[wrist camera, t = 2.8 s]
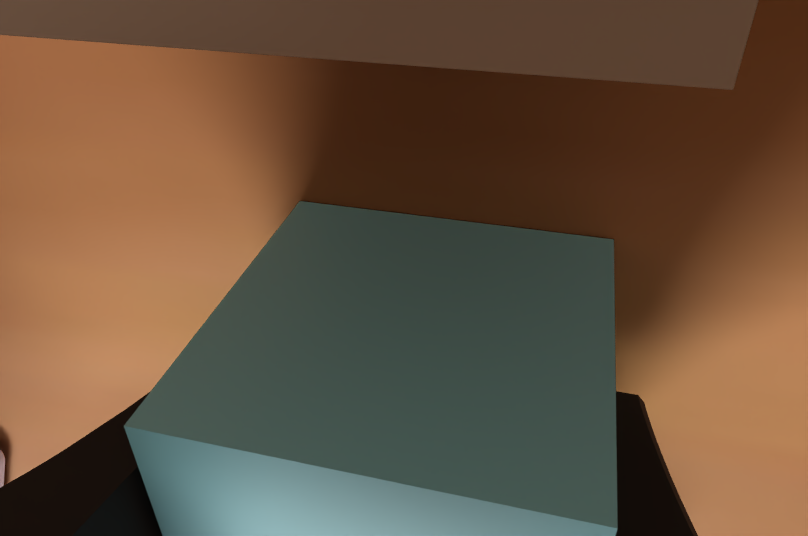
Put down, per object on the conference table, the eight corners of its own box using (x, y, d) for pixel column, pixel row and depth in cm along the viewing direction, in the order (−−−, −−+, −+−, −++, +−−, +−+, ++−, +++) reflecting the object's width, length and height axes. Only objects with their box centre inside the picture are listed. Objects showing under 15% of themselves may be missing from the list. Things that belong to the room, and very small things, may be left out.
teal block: (568, 460, 13) (550, 755, 9) (321, 413, 14) (205, 659, 10) (613, 239, 10) (617, 528, 6) (300, 201, 11) (123, 426, 7)
